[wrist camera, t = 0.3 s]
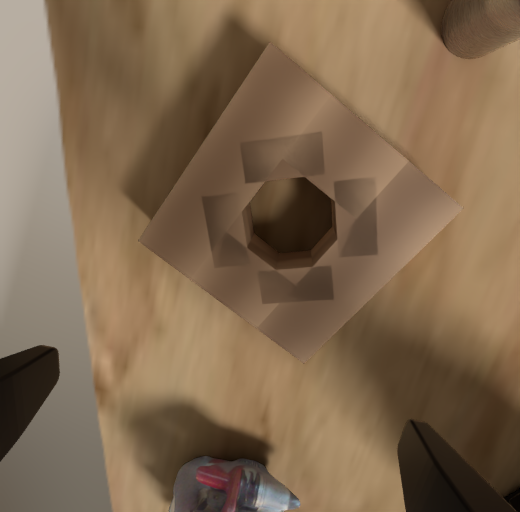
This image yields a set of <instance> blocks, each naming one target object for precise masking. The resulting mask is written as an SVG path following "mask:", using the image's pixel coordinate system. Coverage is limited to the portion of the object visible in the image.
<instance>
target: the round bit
mask: <svg viewBox="0 0 520 512" xmlns="http://www.w3.org/2000/svg"><path fill="white" fill-rule="evenodd" d="M441 31H442V38H443V41H444V43H445V45H446V47H447V48H448V50H449V51H450V52H451V53H453V54H454V55H456V56H458V57H460V58H465V59H474V58H479V57H482V56H484V55H486V54H488V53H491V52H493V51H495V50H497V49H499V48H502V47H504V46H506V45H508V44H510V43H512V42H515V41H517V40H519V39H520V0H452V1H451V2H450V3H449V5H448V7H447V8H446V11H445V13H444V16H443V20H442V27H441Z"/></svg>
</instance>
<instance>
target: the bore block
mask: <svg viewBox="0 0 520 512" xmlns="http://www.w3.org/2000/svg"><path fill="white" fill-rule="evenodd" d="M298 177H305V178H307V179H308V180H309V181H310V182H312V183H313V184H314V185H315V186H316V187H318V188H319V189H320V190H321V191H323V192H324V193H325V194H326V195H328V196H329V197H330V198H331V210H332V225H333V226H332V227H331V228H330V229H329V231H328V232H327V233H326V234H325V235H324V236H323V237H322V238H321V240H320V241H319V242H318V243H317V244H316V245H315V246H314V247H313V249H312V250H307V251H296V252H285V253H279V252H277V251H276V250H275V249H273V248H272V247H271V246H270V245H268V244H267V243H266V242H264V241H263V240H262V239H261V238H259V237H258V236H257V235H255V234H254V228H253V221H252V214H251V207H250V201H251V200H252V198H253V197H254V196H255V195H256V193H257V192H258V191H259V189H260V188H261V187H262V185H263V184H264V183H265V181H273V180H281V179H289V178H298ZM462 209H463V207H462V206H461V205H459V204H458V203H457V202H456V201H455V200H454V199H452V198H451V197H450V196H449V195H448V194H447V193H446V192H444V191H443V190H442V189H441V188H440V187H439V186H437V185H436V184H435V183H434V182H433V181H432V180H430V179H429V178H428V177H427V176H426V175H425V174H423V173H422V172H421V171H420V170H419V169H418V168H416V167H415V166H414V165H413V164H412V163H411V162H409V161H408V160H407V159H406V158H405V157H404V156H402V155H401V154H400V153H399V152H398V151H397V150H396V149H394V148H393V147H392V146H391V145H390V144H389V143H387V142H386V141H385V140H384V139H383V138H382V137H380V136H379V135H378V134H377V133H376V132H375V131H373V130H372V129H371V128H370V127H369V126H368V125H366V124H365V123H364V122H363V121H362V120H361V119H359V118H358V117H357V116H356V115H355V114H354V113H352V112H351V111H350V110H349V109H348V108H347V107H346V106H344V105H343V104H342V103H341V102H340V101H339V100H337V99H336V98H335V97H334V96H333V95H332V94H330V93H329V92H328V91H327V90H326V89H325V88H323V87H322V86H321V85H320V84H319V83H318V82H316V81H315V80H314V79H313V78H312V77H311V76H309V75H308V74H307V73H306V72H305V71H304V70H302V69H301V68H300V67H299V66H298V65H297V64H296V63H294V62H293V61H292V60H291V59H290V58H289V57H287V56H286V55H285V54H284V53H283V52H282V51H280V50H279V49H278V48H277V47H276V46H275V45H273V44H272V43H271V42H269V44H268V45H267V47H266V48H265V50H264V51H263V53H262V54H261V56H260V57H259V59H258V60H257V62H256V63H255V65H254V66H253V68H252V69H251V71H250V72H249V74H248V75H247V77H246V78H245V80H244V81H243V83H242V85H241V86H240V88H239V89H238V91H237V92H236V94H235V95H234V97H233V98H232V100H231V101H230V103H229V104H228V106H227V107H226V109H225V110H224V112H223V113H222V115H221V116H220V118H219V119H218V121H217V122H216V124H215V125H214V127H213V128H212V130H211V131H210V133H209V134H208V136H207V137H206V139H205V140H204V142H203V143H202V145H201V146H200V148H199V149H198V151H197V152H196V154H195V155H194V157H193V158H192V160H191V161H190V163H189V164H188V166H187V167H186V169H185V170H184V172H183V173H182V175H181V176H180V178H179V179H178V181H177V182H176V184H175V185H174V187H173V188H172V190H171V191H170V193H169V194H168V196H167V197H166V199H165V200H164V202H163V203H162V205H161V207H160V208H159V210H158V211H157V213H156V214H155V216H154V217H153V219H152V220H151V222H150V223H149V225H148V226H147V228H146V229H145V231H144V232H143V234H142V235H141V237H140V238H139V240H138V241H139V242H140V243H142V244H143V245H144V246H146V247H147V248H148V249H150V250H151V251H152V252H154V253H155V254H156V255H158V256H159V257H160V258H162V259H163V260H165V261H166V262H167V263H169V264H170V265H171V266H173V267H174V268H175V269H177V270H178V271H179V272H181V273H182V274H183V275H185V276H186V277H188V278H189V279H190V280H192V281H193V282H194V283H196V284H197V285H198V286H200V287H201V288H202V289H204V290H205V291H206V292H208V293H209V294H210V295H212V296H213V297H215V298H216V299H217V300H219V301H220V302H221V303H223V304H224V305H225V306H227V307H228V308H229V309H231V310H232V311H233V312H235V313H236V314H238V315H239V316H240V317H242V318H243V319H244V320H246V321H247V322H248V323H250V324H251V325H252V326H254V327H255V328H256V329H258V330H259V331H261V332H262V333H263V334H265V335H266V336H267V337H269V338H270V339H271V340H273V341H274V342H275V343H277V344H278V345H279V346H281V347H282V348H283V349H285V350H286V351H288V352H289V353H290V354H292V355H293V356H294V357H296V358H297V359H298V360H300V361H301V362H302V363H305V362H306V361H307V360H308V359H309V358H310V357H311V356H313V355H314V354H315V353H316V352H317V351H318V350H319V349H320V348H321V347H322V346H323V345H324V344H325V343H326V342H327V341H328V340H329V339H330V338H331V337H332V336H333V335H334V334H335V333H336V332H337V331H338V330H339V329H340V328H341V327H342V326H343V325H344V324H345V323H346V322H347V321H348V320H349V319H350V318H352V317H353V316H354V315H355V314H356V313H357V312H358V311H359V310H360V309H361V308H362V307H363V306H364V305H365V304H366V303H367V302H368V301H369V300H370V299H371V298H372V297H373V296H374V295H375V294H376V293H377V292H378V291H379V290H380V289H381V288H382V287H383V286H384V285H385V284H386V283H387V282H388V281H390V280H391V279H392V278H393V277H394V276H395V275H396V274H397V273H398V272H399V271H400V270H401V269H402V268H403V267H404V266H405V265H406V264H407V263H408V262H409V261H410V260H411V259H412V258H413V257H414V256H415V255H416V254H417V253H418V252H419V251H420V250H421V249H422V248H423V247H424V246H425V245H426V244H427V243H429V242H430V241H431V240H432V239H433V238H434V237H435V236H436V235H437V234H438V233H439V232H440V231H441V230H442V229H443V228H444V227H445V226H446V225H447V224H448V223H449V222H450V221H451V220H452V219H453V218H454V217H455V216H456V215H457V214H458V213H459V212H460V211H461V210H462Z"/></svg>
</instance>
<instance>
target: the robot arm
mask: <svg viewBox="0 0 520 512" xmlns="http://www.w3.org/2000/svg"><path fill="white" fill-rule="evenodd" d="M59 373H60V371H59V353H58V350H57V349H56V348H54V347H50V346H45V345H39V346H36V347H33V348H30V349H27V350H24V351H21V352H19V353H16V354H13V355H10V356H7V357H4V358H1V359H0V461H1V460H2V459H3V457H5V455H6V454H7V453H8V451H9V450H10V449H11V448H12V447H13V445H14V444H15V443H16V442H17V440H18V439H19V438H20V436H21V435H22V433H23V432H24V431H25V429H26V428H27V426H28V425H29V423H30V422H31V420H32V419H33V417H34V416H35V414H36V413H37V412H38V410H39V409H40V407H41V406H42V404H43V403H44V401H45V400H46V398H47V397H48V395H49V394H50V392H51V391H52V389H53V388H54V386H55V385H56V383H57V381H58V379H59ZM398 460H399V467H400V474H401V481H402V488H403V495H404V502H405V509H406V512H520V489H519V490H518V491H516V492H514V493H513V494H511V495H509V496H508V497H506V498H505V499H504V498H503V497H502V496H501V495H500V494H499V493H498V492H497V491H496V490H495V489H494V488H493V487H492V486H491V485H490V484H489V483H488V482H487V481H485V480H484V479H483V478H482V477H481V476H480V475H479V474H478V473H477V472H476V471H475V470H474V469H473V468H472V467H471V466H470V465H469V464H468V463H467V462H466V461H465V460H464V459H463V458H462V457H461V456H460V455H459V454H458V453H457V452H456V451H455V450H454V449H453V448H452V447H451V446H450V445H449V444H448V443H447V442H446V441H445V440H444V439H443V438H442V437H441V436H440V435H439V434H438V433H437V432H436V431H435V430H434V429H433V428H432V427H431V426H430V425H429V424H427V423H426V422H423V421H418V420H413V419H410V420H408V421H407V422H406V424H405V427H404V430H403V432H402V435H401V438H400V440H399V443H398Z"/></svg>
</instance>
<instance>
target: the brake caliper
mask: <svg viewBox="0 0 520 512" xmlns="http://www.w3.org/2000/svg"><path fill="white" fill-rule="evenodd" d="M173 495H174V496H173V499H172V502H171V504H170V507H169V512H284V510H291V509H297V508H299V506H300V501H299V499H298V498H297V497H296V496H295V495H294V494H293V493H292V492H291V491H290V490H289V489H287V488H286V487H285V486H284V485H283V484H282V483H280V482H279V481H278V480H276V479H275V478H274V477H273V476H272V475H271V474H270V473H269V472H268V471H267V469H266V468H265V466H264V465H262V464H260V463H259V462H256V461H253V460H248V459H243V458H241V459H238V460H235V461H226V460H222V459H215V458H211V457H209V456H202V457H200V458H195V459H193V460H191V461H190V462H187V463H185V464H184V465H183V466H182V467H181V468H180V470H179V471H178V474H177V477H176V481H175V484H174V487H173Z"/></svg>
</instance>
